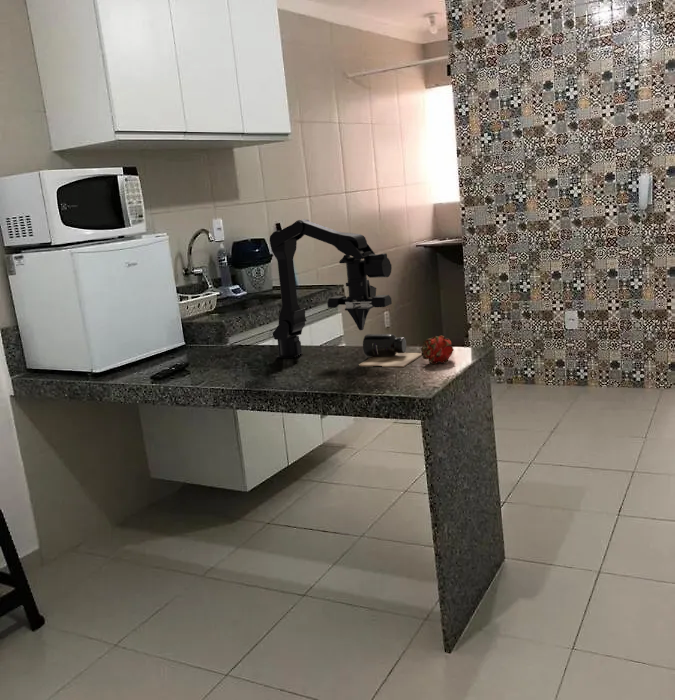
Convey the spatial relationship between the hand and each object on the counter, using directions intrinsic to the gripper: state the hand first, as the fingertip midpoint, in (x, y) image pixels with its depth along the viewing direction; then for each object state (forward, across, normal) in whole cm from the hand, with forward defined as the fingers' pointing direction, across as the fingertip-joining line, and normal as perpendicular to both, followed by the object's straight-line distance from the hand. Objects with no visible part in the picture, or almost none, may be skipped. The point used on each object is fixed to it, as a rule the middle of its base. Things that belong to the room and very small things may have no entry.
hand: (361, 330), depth 222 cm
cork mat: (+9, -9, 0) cm, 13 cm away
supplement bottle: (+5, 0, -2) cm, 6 cm away
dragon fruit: (+9, -24, +1) cm, 26 cm away
